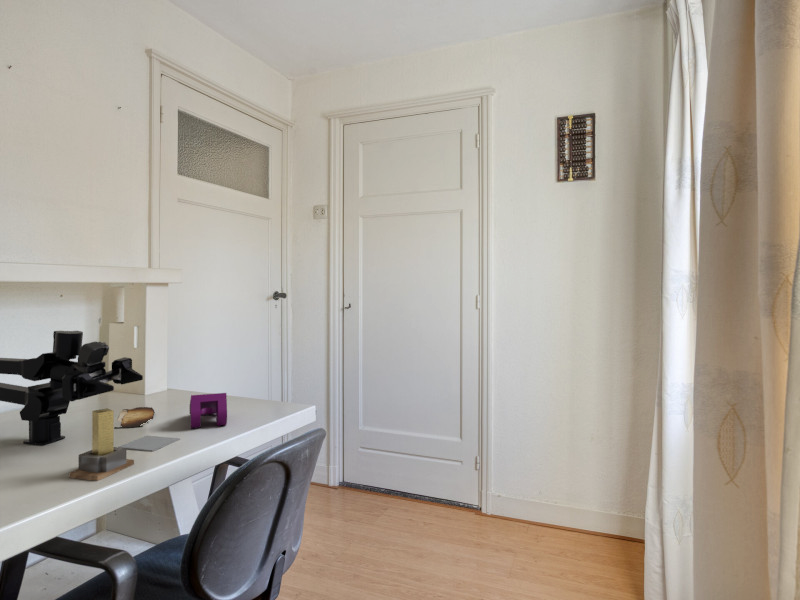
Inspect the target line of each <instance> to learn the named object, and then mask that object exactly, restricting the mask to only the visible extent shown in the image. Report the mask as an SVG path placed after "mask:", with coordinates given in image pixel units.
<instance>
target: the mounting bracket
mask: <svg viewBox="0 0 800 600" xmlns="http://www.w3.org/2000/svg"><path fill="white" fill-rule="evenodd" d="M227 401H228V399H227V392H221V393H220V392H218V393H205V394H191V396H190V401H189V418H190V422H189V423H190V429H191V428H192V429H201V420H202V419H201V416H207V415H206V414H210V415H215V421H216V422H215V423H216V426H217V427H221V425H223V426H227V425H228V402H227Z"/></svg>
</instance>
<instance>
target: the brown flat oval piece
mask: <svg viewBox="0 0 800 600" xmlns="http://www.w3.org/2000/svg"><path fill="white" fill-rule="evenodd" d="M154 415H155V410H154V408H153V407H152V406H151V407H148V406H141V407H140V406H139V407H138V406H137V407H133V408H131V409H130V408H129V409H128V408H127V409H125V408H124V409H122V410H121V411H120V413H119V416H118V417H117V418H118V419H117V422H120V426H119V427H116V426H115V427H114V429H122V428H123V429H125V428H127V429H129V428H137V427H139V428H141V427H140V425H141V424H143V423H146V422H147V421H148V420H150V419H154ZM150 421H151V420H150ZM143 425H144V424H143ZM121 426H122V427H121Z"/></svg>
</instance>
